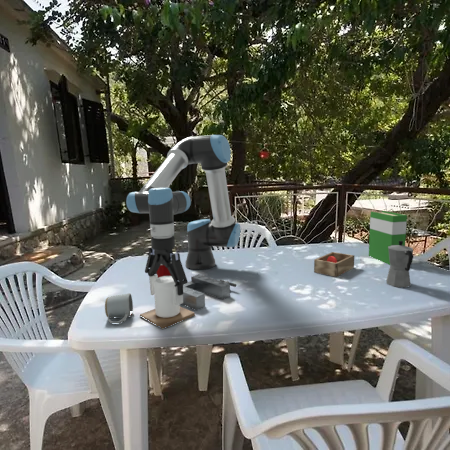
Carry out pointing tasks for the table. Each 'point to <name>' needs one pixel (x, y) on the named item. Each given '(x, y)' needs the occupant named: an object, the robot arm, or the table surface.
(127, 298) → the ceramic mug
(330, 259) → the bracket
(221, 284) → the c-clamp
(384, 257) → the green cereal box
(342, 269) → the crate frame
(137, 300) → the table surface
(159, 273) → the plastic cup
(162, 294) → the beverage can
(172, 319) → the pad
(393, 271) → the coffeepot
